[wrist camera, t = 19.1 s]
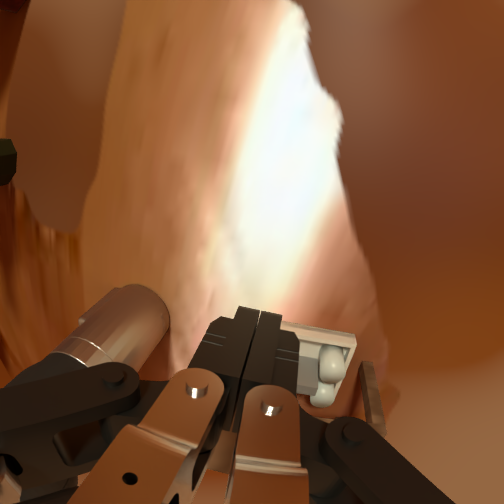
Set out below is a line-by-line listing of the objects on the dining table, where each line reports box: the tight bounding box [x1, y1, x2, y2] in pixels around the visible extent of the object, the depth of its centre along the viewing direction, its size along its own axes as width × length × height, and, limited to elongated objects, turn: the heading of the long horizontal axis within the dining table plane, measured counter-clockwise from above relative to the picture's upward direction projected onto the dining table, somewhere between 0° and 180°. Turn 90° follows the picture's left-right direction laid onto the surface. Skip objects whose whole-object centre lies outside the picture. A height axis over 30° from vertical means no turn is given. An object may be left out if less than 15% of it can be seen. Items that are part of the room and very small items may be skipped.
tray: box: [280, 321, 357, 408], centre depth 40 cm, size 12×10×7 cm
